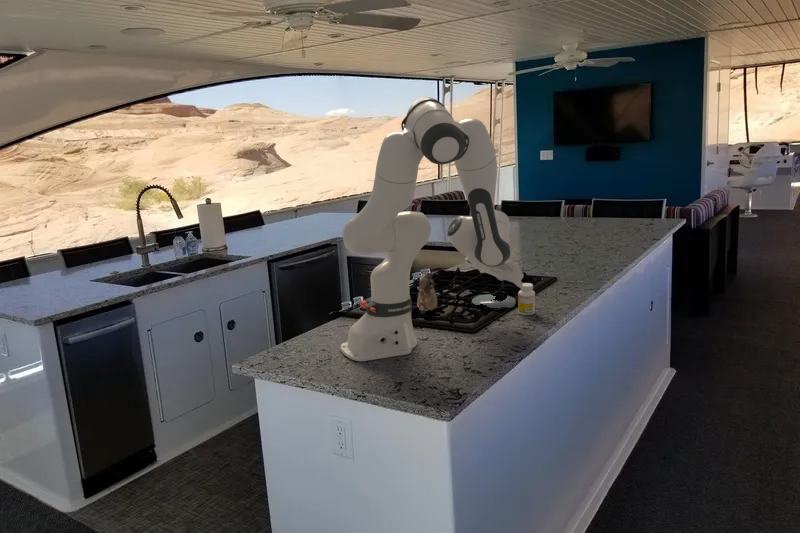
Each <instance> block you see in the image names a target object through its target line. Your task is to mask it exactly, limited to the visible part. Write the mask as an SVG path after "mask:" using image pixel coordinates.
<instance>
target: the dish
mask: <svg viewBox="0 0 800 533" xmlns="http://www.w3.org/2000/svg"><path fill="white" fill-rule="evenodd" d="M495 297H496V296H493V295H491V293H490V294H486V293H485V294H482V295H477V296H475V297H474V298H472V300H471V304H472V303H473V304H475V305H480V304H483V305H487V307H490V308H501V307H507V308H510V309H512V308H514V307H515V306H516V305H517V304H516V302H517V301H516V298H515V297H513V296H510V295H507V298H506V299H505V300H503V301H501V302H500V301H497V300H496V301H495V300H493V299H495ZM491 300H492V301H491ZM515 304H516V305H515Z"/></svg>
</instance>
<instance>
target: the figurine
mask: <svg viewBox="0 0 800 533" xmlns="http://www.w3.org/2000/svg"><path fill="white" fill-rule="evenodd" d="M433 276H434V274H433V273H429V275H428V274H427V273H424V274H423V275H421V277H419V284H418V286H417V287H416V288H417V290H418V294H417V301H416V308H417V307H418V308H419V311H423V312H424V311H425V312H428V310H430V311H433V309H434V310H436V309H437V307H438V297H437V293H436V290H435V281H434V280H433ZM435 308H436V309H435Z"/></svg>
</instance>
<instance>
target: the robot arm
mask: <svg viewBox="0 0 800 533" xmlns="http://www.w3.org/2000/svg"><path fill="white" fill-rule="evenodd" d="M400 125H401V131H393V132H390V133H389V134H387V135H385V137H384V139H383V141H382V143H381V145H380V149H379V152H378V156H377V160H376V167H375V172H374V180H373V186H372V190H371V194H370V197H369V198H368V201H367V202H366V204H365V205H364V207H363V208H362V209H361V210H360V211H359V212H358V213H357V214H356V215H355V216H353V217H352V218H351V219H348V221H347V222H346V224H345V225H344V227H343V229H342V241H343V244H344V246H345V248H346V249H347V250H348V251H349V253H350V254H352V255H361V256H362V255H364V256H365V255H366V256H371V255H372V256H373V255H378V254H383V253H384V254H386V253H387V254H386V256H385V258H384V259H383V261H382V262H380V263H379V264H378V265H377V266H376V267H374V269H373V270H372V272H371V274H370V277H369V278H370V292H371V298H370V300H369V302H367V301H366V300H361V301H360V302H359V307H361V308H363V309H366V313H364V314H363V315H362V316H361V317H360V318H359V319H358V320H357V321H356V322H355V323H353V325H351V327H350V328H349V330H348V333H347V334H348V336H347V341H346V342H343V343H341V345H340V351H341V353H342V354H343V355H344V356H346V357H347V358H348V359H350V360H353V361H356V362H367V361H373V360H378V359H386V358H392V357H397V356H398V357H399V356H405V355H409V354H411V353H412V351H413V349H414V348H415V347H416V346H417V345H418V341H417V338H416V335H415V331H414V326H413V322H412V313H413V311H412V310H413V307H412V306H413V304H412V298H411V295H410V276H411V269H412V265H413V262H414V260H415V258H416V256H417V254H418V253H419V251H421V249H422V248H423V247H424V246H425V245H426V244H427V243H428V241H430V237H431V233H432V226H431V223H430V220H429V219H428V217H427V216H426V214H424V213H423V212H421V211H420V212H419V211H409V210H406V209H408V207H409V206H410V205H411V204H412V202H413V200H414V198H415V193H416V192H415V191H416V185H417V179H418V173H419V165H420V163H421V161H422V159H423V158H425V159H427V160H428V161H429V162H431V163H432V164H434V165H439V166H440V165H448V164H451V163H453V162H454V166H455V169H456V172H457V174H458V178H459V180H460V184H461V185H462V189H463V191H464V195H465V198H466V201H467V203H468V205H469V210H470V214H471V216H464V215H460V216H457V217H455V218H454V219H453V220H452V221H451V223H449V225H448V228H447V234H446V236H447V238H448V240H449V242H450V243H451V244H452V246H453V247H454V248H455V249H456V250H457V251H458V252H460V254H462V255H463V256H465V258H464V260H465V261H466V262H467V263H469V264H470V265H471V266H473V267H474V268H476V269H477V270H478V271H479V272H483V273H486V274H489V275H491V276H493V277H495V278H496V279H497V280H498V281H501V282H503V281H504V280H505V281H508V282H510V283H512V284H514V285H515V287H517V288H521V286H522V285H523V283H524V282H522V279H523V278H524V273H523V272H522V270H520V269H519V268H518V267H517V266H515V265H514V264H513V263H512V262H510V261H508V260H509V259H510V258H511V246H510V243H511V241H510V240H511V239H510V235H511V234H510V233H511V232H510V230H511V225H510V224H511V223H510V218H509V216H508V215H507V213H505V212H504V211H502V210H499V209H495V198H496V190H497V189H496V188H497V179H498V163H497V161H498V160H497V154H496V150H495V148H494V144H493V140H492V138H491V135H490V133H489V131H488V129H487V127H486V125H485V124H484V122H482V121H481V120H480V119H477V118H474V117H473V118H471V117H470V118H464V119H462V120H460V121H456V120H454V117H453V116H452V114H451V113H450V112H449V111H448V109H447V108H446V107H445V105H444V104H443V103H442V102H441V101H439V100H438V99H436V98H433V97H427V96H426V97H421V98H419V99H417V100H415V101H414V102H413V103H412V104H411V106H410V107H409V109H408V110H407V113H406V115H405V116H404V118H403V119H402V121H401V124H400Z"/></svg>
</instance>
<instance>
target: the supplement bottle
mask: <svg viewBox="0 0 800 533" xmlns="http://www.w3.org/2000/svg"><path fill="white" fill-rule="evenodd" d="M522 283H523V285H522V286H521V287H520V290H519V291H518V293H517V297H518V298H517V303H518V304H517V305H518V308H517V310H518V314H520V315H522V316H531V315H534V314H535V313H536V293H535V291H534V285H533V283H530V282H522Z"/></svg>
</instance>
